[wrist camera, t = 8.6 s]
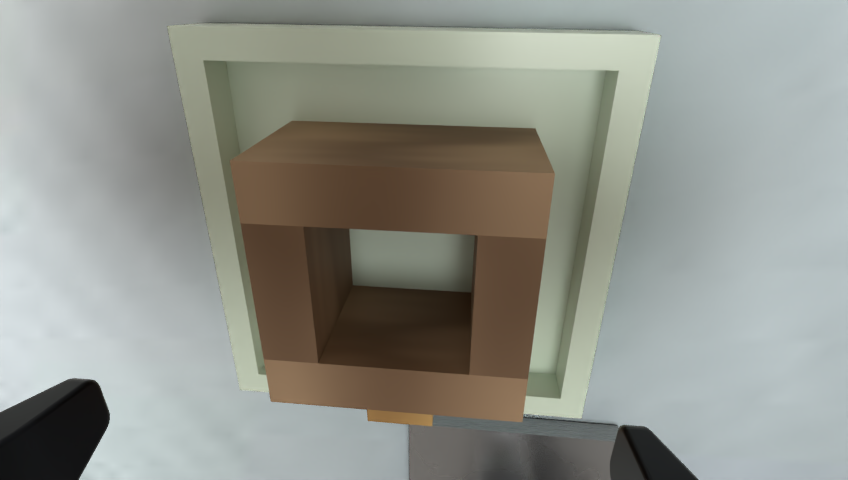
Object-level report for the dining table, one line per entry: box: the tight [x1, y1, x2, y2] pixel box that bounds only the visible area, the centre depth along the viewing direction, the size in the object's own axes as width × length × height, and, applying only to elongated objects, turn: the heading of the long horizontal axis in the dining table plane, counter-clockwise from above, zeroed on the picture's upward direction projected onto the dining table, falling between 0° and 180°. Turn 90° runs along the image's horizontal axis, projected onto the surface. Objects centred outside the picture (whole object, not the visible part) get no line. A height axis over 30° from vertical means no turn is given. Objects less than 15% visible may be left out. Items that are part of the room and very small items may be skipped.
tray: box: [167, 23, 661, 419], centre depth 15 cm, size 12×12×2 cm
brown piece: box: [230, 121, 555, 426], centre depth 14 cm, size 7×8×4 cm
